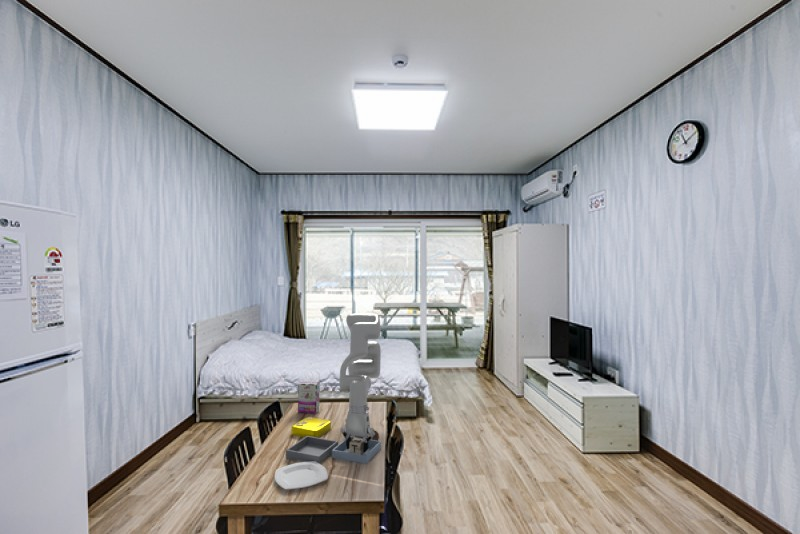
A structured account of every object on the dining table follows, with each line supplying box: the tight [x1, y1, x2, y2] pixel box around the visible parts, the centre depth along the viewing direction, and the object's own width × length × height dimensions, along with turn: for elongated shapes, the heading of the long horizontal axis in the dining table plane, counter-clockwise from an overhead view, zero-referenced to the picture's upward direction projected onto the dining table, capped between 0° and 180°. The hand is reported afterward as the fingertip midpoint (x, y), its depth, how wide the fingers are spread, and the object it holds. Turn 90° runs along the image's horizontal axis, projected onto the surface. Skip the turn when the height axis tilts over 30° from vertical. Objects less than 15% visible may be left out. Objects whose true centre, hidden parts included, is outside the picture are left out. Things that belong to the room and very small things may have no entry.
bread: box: [354, 427, 380, 441], centre depth 184 cm, size 11×11×5 cm
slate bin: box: [331, 435, 382, 465], centre depth 168 cm, size 16×16×4 cm
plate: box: [274, 461, 329, 491], centre depth 147 cm, size 19×19×2 cm
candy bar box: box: [297, 381, 320, 415], centre depth 221 cm, size 11×5×16 cm, turn 80°
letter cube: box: [349, 438, 364, 455], centre depth 168 cm, size 5×5×5 cm
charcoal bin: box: [285, 436, 339, 464], centre depth 168 cm, size 16×16×4 cm
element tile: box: [290, 416, 332, 438], centre depth 193 cm, size 15×15×5 cm
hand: (357, 449), depth 168 cm, fingers open, 7 cm apart
